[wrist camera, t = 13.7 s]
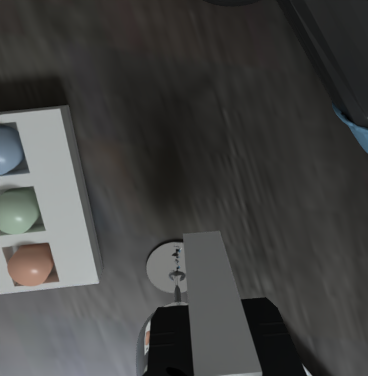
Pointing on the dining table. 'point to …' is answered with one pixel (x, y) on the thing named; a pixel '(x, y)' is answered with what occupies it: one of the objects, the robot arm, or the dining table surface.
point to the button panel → (52, 200)
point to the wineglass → (166, 281)
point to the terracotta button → (31, 264)
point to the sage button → (18, 210)
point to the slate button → (10, 149)
